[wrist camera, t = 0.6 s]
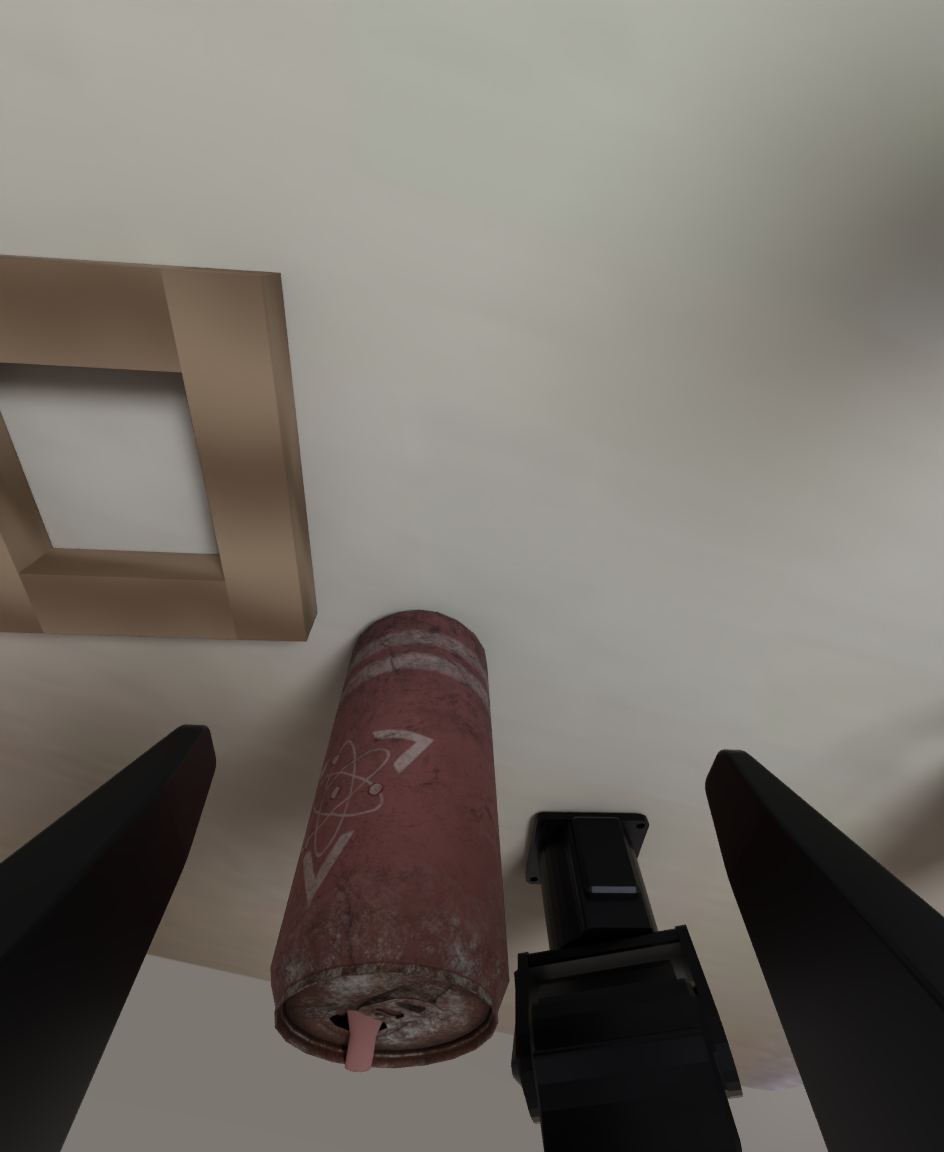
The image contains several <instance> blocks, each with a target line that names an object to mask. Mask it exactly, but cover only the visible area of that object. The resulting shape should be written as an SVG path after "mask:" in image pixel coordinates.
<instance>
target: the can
mask: <svg viewBox="0 0 944 1152" xmlns="http://www.w3.org/2000/svg"><path fill="white" fill-rule="evenodd" d="M508 983H509V967H508V953H507V939H506V925H505V911H504V897H503V883H502V869H501V855H500V840H499V826H498V812H497V798H496V784H495V770H494V756H493V742H492V728H491V713H490V699H489V685H488V671H487V662H486V656H485V651H484V648H483V647H482V645H481V643H480V642H479V640H478V639H477V637H476V635H475V634H474V633H473V632H471V631H470V630H469V629H468V628H466V627H465V626H464V625H463V624H461V623H460V622H459V621H457V620H455V619H453V618H451V617H448V616H446V615H443V614H441V613H438V612H433V611H425V610H412V611H405V612H398V613H396V614H393V615H391V616H389V617H386V618H384V619H382V620H380V621H377V622H375V623H374V624H373V625H372V626H371V627H370V628H368V629H367V630H366V631H365V632H364V633H363V634H362V635H361V636H360V638H359V640H358V642H357V644H356V646H355V648H354V650H353V653H352V657H351V660H350V664H349V668H348V672H347V676H346V680H345V684H344V687H343V691H342V695H341V699H340V703H339V707H338V710H337V714H336V718H335V722H334V726H333V730H332V733H331V737H330V741H329V745H328V749H327V753H326V756H325V760H324V764H323V768H322V772H321V776H320V780H319V783H318V787H317V791H316V795H315V799H314V803H313V806H312V810H311V814H310V818H309V822H308V826H307V829H306V833H305V837H304V841H303V845H302V849H301V852H300V856H299V860H298V864H297V868H296V872H295V876H294V879H293V883H292V887H291V891H290V895H289V899H288V902H287V906H286V910H285V914H284V918H283V922H282V925H281V929H280V933H279V937H278V941H277V945H276V948H275V952H274V956H273V960H272V964H271V987H272V991H273V997H274V1002H275V1028H276V1029H277V1031H278V1032H279V1033H280V1034H281V1036H282V1037H283V1038H284V1039H285V1041H286V1042H288V1043H289V1044H291V1045H293V1046H294V1047H296V1048H298V1049H300V1050H301V1051H303V1052H305V1053H306V1054H309V1055H313V1056H316V1057H319V1058H322V1059H325V1060H328V1061H331V1062H336V1063H342V1064H345V1068H346V1069H347V1070H349V1071H353V1072H365V1071H368V1070H369V1069H370V1068H371V1067H379V1068H401V1067H412V1066H423V1065H429V1064H433V1063H438V1062H442V1061H446V1060H451V1059H454V1058H457V1057H459V1056H461V1055H464V1054H466V1053H469V1052H471V1051H473V1050H476V1049H477V1048H478V1047H480V1046H481V1045H482V1044H483V1043H485V1042H486V1041H487V1040H488V1039H490V1038H491V1037H492V1035H493V1033H494V1031H495V1029H496V1026H497V1024H498V1010H499V1008H500V1005H501V1002H502V1000H503V997H504V994H505V991H506V989H507V986H508Z"/></svg>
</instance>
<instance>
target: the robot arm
mask: <svg viewBox="0 0 944 1152" xmlns="http://www.w3.org/2000/svg"><path fill="white" fill-rule="evenodd" d="M215 768H216V756H215V751H214V747H213V742H212V738H211V733H210V730H209V728H208V727H207V726H204V725H188V724H186V725H182V726H180V727H178V728H176V729H175V730H174V731H173V732H171V733H170V734H169V735H167V736H166V737H165V738H163V739H162V740H161V741H159V742H158V743H157V744H156V745H154V746H153V747H152V748H150V749H149V750H148V751H146V752H145V753H144V754H142V755H141V756H140V757H139V758H137V759H136V760H135V761H133V762H132V763H131V764H129V765H128V766H127V767H125V768H124V769H123V770H122V771H120V772H119V773H118V774H116V775H115V776H114V777H112V778H111V779H110V780H108V781H107V782H106V783H105V784H103V785H102V786H101V787H99V788H98V789H97V790H95V791H94V792H93V793H91V794H90V795H89V796H88V797H86V798H85V799H84V800H82V801H81V802H80V803H78V804H77V805H76V806H74V807H73V808H72V809H71V810H69V811H68V812H67V813H65V814H64V815H63V816H61V817H60V818H59V819H57V820H56V821H55V822H54V823H52V824H51V825H50V826H48V827H47V828H46V829H44V830H43V831H42V832H40V833H39V834H38V835H37V836H35V837H34V838H33V839H31V840H30V841H29V842H27V843H26V844H25V845H23V846H22V847H21V848H20V849H18V850H17V851H16V852H14V853H13V854H12V855H10V856H9V857H8V858H6V859H5V860H4V861H3V862H1V863H0V1152H60V1151H61V1149H62V1147H63V1144H64V1142H65V1140H66V1137H67V1135H68V1133H69V1131H70V1128H71V1126H72V1124H73V1121H74V1119H75V1117H76V1114H77V1112H78V1110H79V1108H80V1105H81V1103H82V1100H83V1098H84V1096H85V1094H86V1091H87V1089H88V1087H89V1084H90V1082H91V1080H92V1078H93V1075H94V1073H95V1070H96V1068H97V1066H98V1064H99V1061H100V1059H101V1057H102V1055H103V1052H104V1050H105V1048H106V1045H107V1043H108V1041H109V1038H110V1036H111V1034H112V1032H113V1029H114V1027H115V1025H116V1022H117V1020H118V1018H119V1015H120V1013H121V1011H122V1008H123V1006H124V1004H125V1002H126V999H127V997H128V995H129V992H130V990H131V988H132V985H133V983H134V981H135V978H136V976H137V974H138V972H139V969H140V967H141V965H142V963H143V960H144V958H145V956H146V953H147V951H148V949H149V946H150V944H151V942H152V940H153V937H154V935H155V933H156V930H157V928H158V926H159V923H160V921H161V919H162V917H163V914H164V912H165V910H166V907H167V905H168V903H169V900H170V898H171V896H172V894H173V891H174V889H175V887H176V884H177V882H178V880H179V877H180V875H181V873H182V870H183V868H184V865H185V863H186V860H187V857H188V854H189V851H190V849H191V846H192V842H193V839H194V836H195V833H196V830H197V827H198V823H199V820H200V817H201V814H202V811H203V807H204V804H205V801H206V798H207V795H208V791H209V788H210V785H211V782H212V779H213V776H214V772H215ZM705 790H706V795H707V799H708V803H709V807H710V811H711V815H712V819H713V822H714V826H715V830H716V834H717V838H718V842H719V846H720V850H721V853H722V857H723V861H724V865H725V868H726V872H727V875H728V879H729V881H730V884H731V887H732V890H733V893H734V896H735V899H736V901H737V904H738V907H739V909H740V912H741V915H742V918H743V920H744V923H745V926H746V928H747V931H748V934H749V937H750V939H751V942H752V945H753V948H754V950H755V953H756V956H757V958H758V961H759V964H760V967H761V969H762V972H763V975H764V978H765V980H766V983H767V986H768V988H769V991H770V994H771V997H772V999H773V1002H774V1005H775V1008H776V1010H777V1013H778V1016H779V1018H780V1021H781V1024H782V1027H783V1029H784V1032H785V1035H786V1038H787V1040H788V1043H789V1046H790V1048H791V1051H792V1054H793V1057H794V1059H795V1062H796V1065H797V1068H798V1070H799V1073H800V1076H801V1078H802V1081H803V1084H804V1087H805V1089H806V1092H807V1095H808V1098H809V1100H810V1103H811V1106H812V1108H813V1111H814V1114H815V1117H816V1119H817V1122H818V1125H819V1127H820V1130H821V1133H822V1136H823V1138H824V1141H825V1144H826V1147H827V1149H828V1152H944V917H943V916H942V915H941V914H940V913H938V912H937V911H936V910H935V909H934V908H932V907H931V906H930V905H929V904H928V903H926V902H925V901H924V900H923V899H922V898H920V897H919V896H918V895H917V894H916V893H915V892H913V891H912V890H911V889H910V888H909V887H907V886H906V885H905V884H904V883H903V882H901V881H900V880H899V879H898V878H897V877H895V876H894V875H893V874H892V873H891V872H889V871H888V870H887V869H886V868H885V867H883V866H882V865H881V864H880V863H879V862H877V861H876V860H875V859H874V858H873V857H871V856H870V855H869V854H868V853H867V852H865V851H864V850H863V849H862V848H861V847H859V846H858V845H857V844H856V843H855V842H853V841H852V840H851V839H850V838H849V837H847V836H846V835H845V834H844V833H843V832H842V831H840V830H839V829H838V828H837V827H836V826H834V825H833V824H832V823H831V822H830V821H828V820H827V819H826V818H825V817H824V816H822V815H821V814H820V813H819V812H818V811H816V810H815V809H814V808H813V807H812V806H810V805H809V804H808V803H807V802H806V801H804V800H803V799H802V798H801V797H800V796H798V795H797V794H796V793H795V792H794V791H792V790H791V789H790V788H789V787H788V786H786V785H785V784H784V783H783V782H782V781H780V780H779V779H778V778H777V777H776V776H774V775H773V774H772V773H771V772H770V771H769V770H767V769H766V768H765V767H764V766H763V765H761V764H760V763H759V762H758V761H757V760H755V759H754V758H753V757H752V756H751V755H749V754H748V753H747V752H745V751H742V750H728V749H724V750H721V751H720V752H718V754H717V756H716V758H715V760H714V762H713V765H712V767H711V769H710V771H709V773H708V775H707V778H706V782H705ZM648 828H649V822H648V819H647V817H646V816H645V815H641V814H588V813H541V814H539V815H538V816H537V817H536V820H535V825H534V831H533V836H532V841H531V846H530V852H529V857H528V862H527V867H526V873H525V874H526V881H527V882H528V883H530V884H541V888H542V896H543V903H544V911H545V918H546V926H547V934H548V941H549V949H550V950H548V951H543V952H537V953H531V954H529V953H528V952H525V953H519V954H518V970H516V971H515V972H514V977H515V1032H514V1042H513V1052H512V1060H511V1068H512V1074H513V1077H514V1078H515V1080H516V1081H517V1082H518V1083H519V1084H520V1085H521V1086H522V1088H523V1092H524V1095H525V1098H526V1102H527V1106H528V1110H529V1113H530V1116H531V1118H532V1120H533V1122H534V1123H535V1124H540V1123H541V1131H542V1138H543V1146H544V1152H742V1147H741V1142H740V1138H739V1135H738V1132H737V1129H736V1125H735V1122H734V1119H733V1116H732V1112H731V1109H730V1106H729V1103H728V1099H727V1098H729V1099H731V1098H739V1097H743V1094H742V1089H741V1085H740V1081H739V1077H738V1074H737V1070H736V1067H735V1064H734V1060H733V1057H732V1054H731V1050H730V1047H729V1044H728V1041H727V1038H726V1035H725V1032H724V1029H723V1026H722V1023H721V1020H720V1017H719V1014H718V1011H717V1008H716V1006H715V1003H714V1000H713V997H712V995H711V992H710V989H709V987H708V984H707V981H706V978H705V976H704V973H703V970H702V968H701V965H700V962H699V959H698V957H697V954H696V951H695V948H694V946H693V943H692V940H691V938H690V935H689V932H688V929H687V927H686V925H680V926H675V929H669V930H664V931H658V929H657V926H656V922H655V919H654V915H653V912H652V909H651V905H650V902H649V898H648V895H647V892H646V888H645V885H644V881H643V878H642V875H641V871H640V868H639V864H638V861H637V857H638V855H639V852H640V849H641V847H642V844H643V841H644V838H645V836H646V833H647V830H648Z"/></svg>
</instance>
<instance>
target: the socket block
mask: <svg viewBox="0 0 944 1152" xmlns="http://www.w3.org/2000/svg"><path fill="white" fill-rule="evenodd" d="M0 362H3V363H21V364H39V365H57V366H75V367H93V368H111V369H129V370H147V371H165V372H182V376H183V381H184V386H185V390H186V395H187V400H188V405H189V410H190V414H191V419H192V424H193V429H194V434H195V439H196V443H197V448H198V453H199V458H200V463H201V467H202V472H203V477H204V482H205V487H206V492H207V496H208V501H209V506H210V511H211V516H212V520H213V525H214V530H215V535H216V540H217V545H218V549H219V554H220V555H215V554H190V553H165V552H139V551H114V550H88V549H63V548H53V547H52V545H51V542H50V540H49V537H48V535H47V532H46V529H45V527H44V524H43V522H42V519H41V516H40V514H39V511H38V509H37V506H36V503H35V501H34V498H33V496H32V493H31V490H30V488H29V485H28V483H27V480H26V478H25V475H24V472H23V470H22V467H21V465H20V462H19V459H18V457H17V454H16V452H15V449H14V446H13V444H12V441H11V439H10V436H9V433H8V431H7V428H6V426H5V423H4V421H3V418H2V415H1V413H0V632H21V633H53V634H84V635H116V636H147V637H179V638H210V639H241V640H273V641H304V642H306V641H307V639H308V636H309V633H310V631H311V628H312V626H313V623H314V620H315V618H316V615H317V606H316V597H315V587H314V578H313V569H312V560H311V550H310V541H309V532H308V523H307V513H306V504H305V495H304V486H303V477H302V467H301V458H300V449H299V440H298V430H297V421H296V412H295V403H294V393H293V384H292V375H291V366H290V356H289V347H288V338H287V329H286V320H285V310H284V301H283V292H282V283H281V273H274V272H259V271H243V270H228V269H212V268H197V267H182V266H166V265H151V264H135V263H120V262H105V261H89V260H74V259H59V258H43V257H28V256H12V255H0Z"/></svg>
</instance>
